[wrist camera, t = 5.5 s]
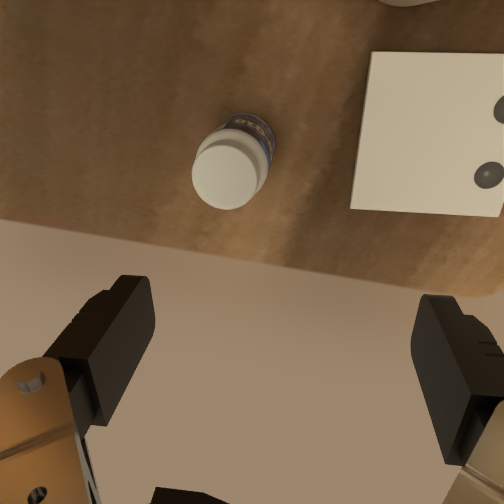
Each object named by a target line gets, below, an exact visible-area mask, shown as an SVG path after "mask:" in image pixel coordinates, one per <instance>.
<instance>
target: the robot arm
mask: <svg viewBox="0 0 504 504" xmlns="http://www.w3.org/2000/svg"><path fill="white" fill-rule="evenodd" d="M154 329H155V312H154V306H153V300H152V294H151V287H150V282H149V279H148V278H147V277H146V276H134V275H121V276H120V277H119V278H118V279H117V280H116V282H115V283H114V284H113V286H112V287H111V288H110V290H102V291H101V292H99V293H98V294H96V295H95V296H93V297H92V298H90V299H89V300H88V301H87V302H86V303H85V305H84V306H83V307H82V308H81V310H80V311H79V313H78V314H77V315H76V316H75V317H74V318H73V319H72V322H71V323H69V324H68V326H67V327H66V328H65V329H64V330H63V332H62V333H61V334H60V335H59V337H58V338H57V339H56V340H55V341H54V343H53V344H52V345H51V347H50V348H49V349H48V350H47V351H46V353H45V354H44V355H43V356H42V357H39V358H33V359H29V360H26V361H24V362H21V363H19V364H17V365H16V366H14V367H12V368H11V369H10V370H8V371H7V372H6V373H5V374H4V375H3V376H2V377H1V378H0V504H102V503H101V500H100V496H99V491H98V487H97V483H96V479H95V475H94V471H93V467H92V462H91V458H90V454H89V450H88V446H87V442H86V439H85V434H86V433H87V431H88V429H89V427H90V425H97V426H107V425H108V423H109V421H110V419H111V417H112V415H113V413H114V411H115V409H116V407H117V405H118V403H119V401H120V399H121V397H122V395H123V393H124V391H125V389H126V387H127V386H128V384H129V382H130V380H131V378H132V376H133V374H134V371H135V370H136V368H137V366H138V364H139V362H140V360H141V358H142V356H143V354H144V352H145V350H146V348H147V346H148V344H149V342H150V340H151V338H152V336H153V333H154ZM411 356H412V360H413V363H414V366H415V369H416V373H417V376H418V379H419V382H420V385H421V389H422V391H423V395H424V398H425V401H426V404H427V407H428V411H429V414H430V417H431V420H432V423H433V427H434V430H435V433H436V436H437V439H438V443H439V445H440V449H441V452H442V455H443V458H444V462H445V464H449V465H458V466H463V467H462V468H461V470H460V472H459V473H458V475H457V477H456V479H455V481H454V483H453V484H452V487H451V488H450V490H449V492H448V494H447V496H446V498H445V499H444V501H443V503H442V504H504V354H503V352H502V350H501V348H500V347H499V346H498V345H497V342H496V340H495V338H494V337H493V335H492V333H491V332H490V330H489V329H488V327H486V326H485V325H484V324H483V323H481V322H480V321H479V320H478V319H477V318H475V317H474V316H473V315H464V314H463V313H462V311H461V309H460V307H459V305H458V303H457V302H456V300H455V298H454V297H453V296H446V295H430V294H424V295H423V296H422V297H421V299H420V303H419V307H418V311H417V315H416V320H415V324H414V328H413V332H412V337H411ZM150 504H229V503H226V502H224V501H222V500H219V499H217V498H214V497H212V496H210V495H208V494H205V493H202V492H194V491H186V490H177V489H169V488H162V487H161V488H160V487H156V488H155V491H154V494H153V497H152V500H151V503H150Z"/></svg>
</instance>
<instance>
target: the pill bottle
mask: <svg viewBox="0 0 504 504" xmlns="http://www.w3.org/2000/svg"><path fill="white" fill-rule="evenodd" d="M274 149H275V142H274V137H273V134H272V131H271V130H270V128H269V127H268V125H267V124H266V123H265V122H264V121H263V120H262V119H261V118H259V117H257V116H255V115H253V114H249V113H238V114H234V115H231V116H229V117H227V118H226V119H225V120H223V121H222V122H221V123H220V124H219V125H218V126H217V127H216V128H215V129H214V130H213V131H212V132H211V133H210V134H209V135H208V136H207V137H206V139H205V140H204V141H203V142H202V143H201V145H200V146H199V149H198V151H197V154H196V160H195V162H194V164H193V168H192V182H193V185H194V188H195V190H196V192H197V193H198V195H199V196H200V197H201V198H202V199H203V200H204V201H205V202H206V203H207V204H209V205H211V206H213V207H215V208H219V209H225V210H230V209H235V208H239V207H241V206H243V205H244V204H246V203H247V202H248V201H249V200H250V199H251V198H252V197H253V195H255V194H256V193H257V192H258V191H259V190H260V189H261V187H262V186H263V184H264V183H265V181H266V178H267V175H268V170H269V167H270V164H271V161H272V158H273V155H274Z"/></svg>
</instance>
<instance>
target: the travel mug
mask: <svg viewBox="0 0 504 504" xmlns="http://www.w3.org/2000/svg"><path fill="white" fill-rule="evenodd" d="M378 1H380V2H382V3H385V4H388V5H392V6H399V7H407V6H415V5H420V4H424V3H429V2H433V1H438V0H378Z"/></svg>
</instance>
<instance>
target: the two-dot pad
mask: <svg viewBox="0 0 504 504" xmlns="http://www.w3.org/2000/svg"><path fill="white" fill-rule="evenodd" d="M503 202H504V54H502V53H447V52H391V51H371V55H370V62H369V69H368V76H367V83H366V91H365V98H364V105H363V112H362V119H361V126H360V133H359V140H358V147H357V154H356V162H355V169H354V176H353V183H352V190H351V197H350V204H349V205H350V209H366V210H383V211H400V212H417V213H435V214H452V215H469V216H487V217H499V214H500V211H501V208H502V205H503Z"/></svg>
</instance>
